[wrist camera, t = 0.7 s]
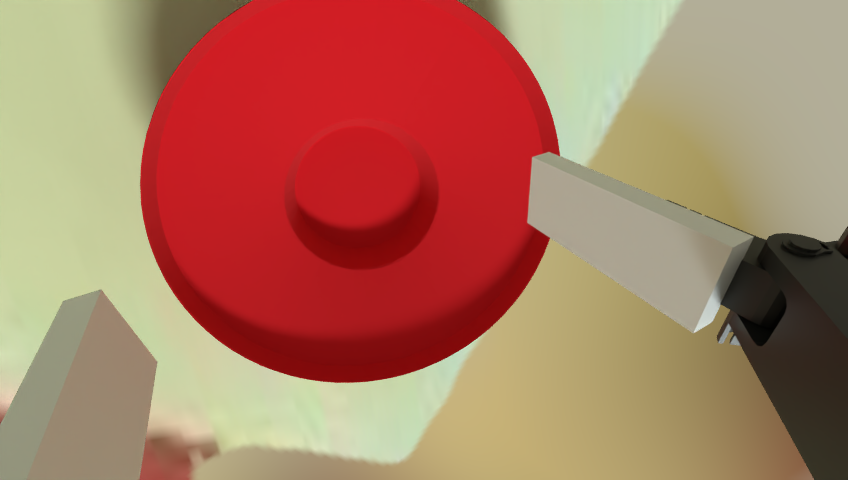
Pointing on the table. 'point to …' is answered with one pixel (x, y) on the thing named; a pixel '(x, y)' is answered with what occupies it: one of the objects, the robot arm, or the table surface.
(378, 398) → the table surface
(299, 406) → the table surface
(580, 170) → the robot arm
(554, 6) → the table surface
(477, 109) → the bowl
